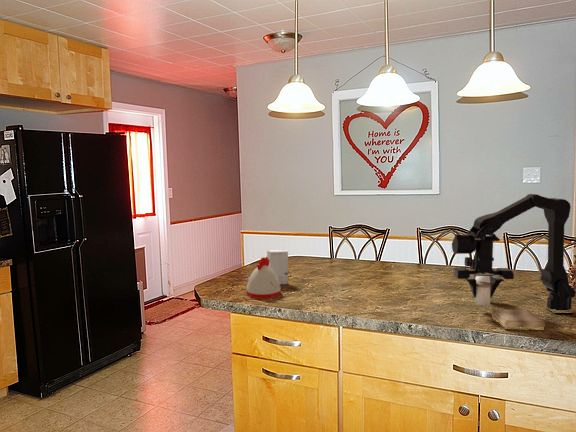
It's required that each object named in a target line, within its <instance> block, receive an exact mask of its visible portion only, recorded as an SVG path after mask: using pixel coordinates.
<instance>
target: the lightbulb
mask: <svg viewBox="0 0 576 432" xmlns="http://www.w3.org/2000/svg"><path fill="white" fill-rule="evenodd" d="M474 279H476V282H488V283H490V276H475V277H474Z"/></svg>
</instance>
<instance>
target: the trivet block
mask: <svg viewBox="0 0 576 432" xmlns="http://www.w3.org/2000/svg"><path fill="white" fill-rule="evenodd" d="M490 315H492V316H493V317H495V318H496V319H497V320H498V321H499V322H500V323H501V324H502V325H503V326H505V327H528V326H529V327H533V326H534V327H545V328H546V322H544V320H543V319H541V318H540V317H539V316H538V315H536V314H535V313H533V312H531V311H530V310H529V309H492V310H491V313H490Z"/></svg>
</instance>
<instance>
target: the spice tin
mask: <svg viewBox="0 0 576 432" xmlns="http://www.w3.org/2000/svg"><path fill="white" fill-rule="evenodd" d="M490 289H491V283H488V282H476V298H474V304H476V305H479V306H490V305H491V298H490Z"/></svg>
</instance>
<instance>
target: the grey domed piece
mask: <svg viewBox="0 0 576 432" xmlns="http://www.w3.org/2000/svg"><path fill="white" fill-rule="evenodd" d="M269 261H270V259H268V257H267V256H266V257H260V261H258V264H256V268H255V269H254V270H253V271H252V272H251V275H250V276H248V277H247V286H246V296H247V297H250V298H252V299H253V298H254V299H270V298H271V299H272V298H277V297H279V296H280V295H281V293H282V290H281V285H280V280H279V278H277V276H276V274H275V273H274V271H273V270H272V269H271V268H270V267H268V266H269Z"/></svg>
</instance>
